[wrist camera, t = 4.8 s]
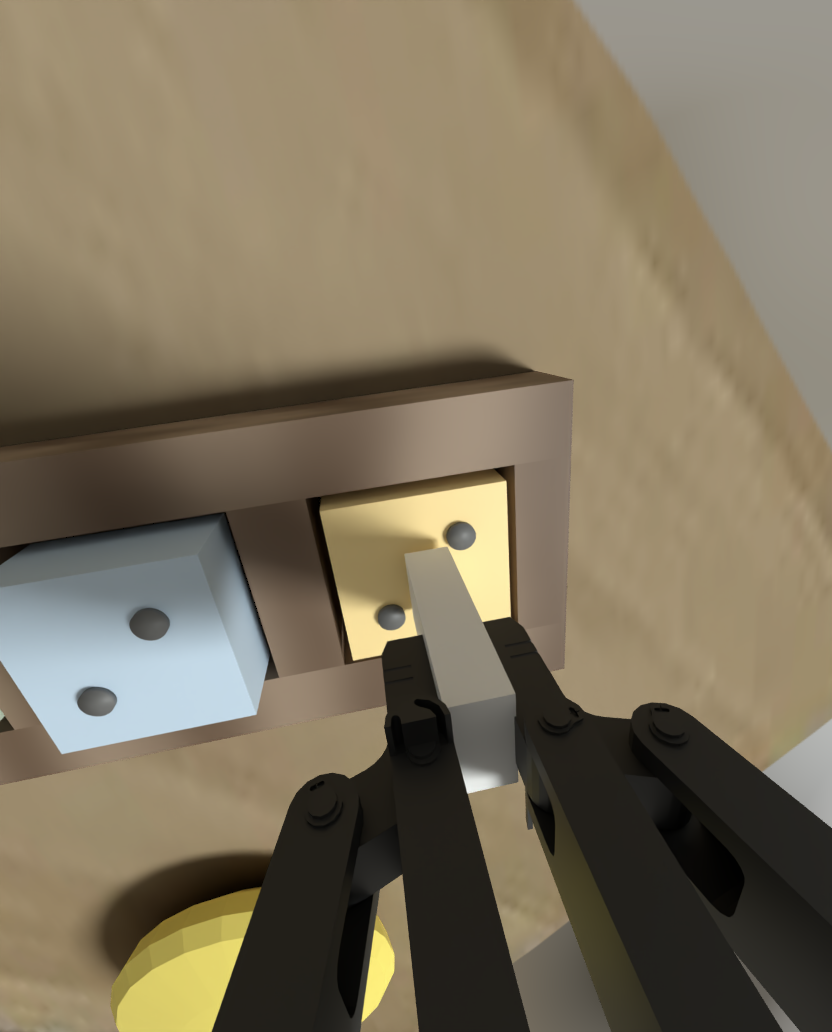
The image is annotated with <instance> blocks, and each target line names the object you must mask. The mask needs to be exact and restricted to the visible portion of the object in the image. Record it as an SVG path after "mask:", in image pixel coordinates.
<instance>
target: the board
mask: <svg viewBox="0 0 832 1032" xmlns="http://www.w3.org/2000/svg"><path fill="white" fill-rule="evenodd" d="M573 381H574V380H572V379H567V378H563V377H559V376H555V375H550V374H546V373H542V372H538V371H533V372H526V373H519V374H512V375H505V376H498V377H491V378H484V379H477V380H470V381H462V382H455V383H448V384H441V385H434V386H427V387H420V388H413V389H406V390H399V391H392V392H385V393H378V394H371V395H364V396H356V397H349V398H342V399H335V400H328V401H321V402H314V403H307V404H300V405H293V406H286V407H279V408H272V409H265V410H258V411H250V412H243V413H236V414H229V415H222V416H215V417H208V418H201V419H194V420H187V421H180V422H173V423H166V424H159V425H152V426H144V427H137V428H130V429H123V430H116V431H109V432H102V433H95V434H88V435H81V436H74V437H67V438H60V439H53V440H46V441H38V442H31V443H24V444H17V445H10V446H3V447H0V565H1V564H3V563H4V562H5V561H7V560H8V559H10V558H11V557H13V556H14V555H16V554H17V553H18V552H20V551H21V550H23V549H24V548H26V547H27V546H29V545H30V544H33V543H40V542H46V541H52V540H58V539H63V537H70V536H76V535H82V534H88V533H94V532H101V531H107V530H113V529H119V528H126V527H132V526H138V525H144V524H150V523H157V522H163V521H169V520H175V519H181V518H188V517H194V516H200V515H206V514H213V513H219V512H225V511H226V514H227V517H228V520H229V523H230V527H231V530H232V533H233V536H234V539H235V542H236V545H237V548H238V551H239V554H240V558H241V561H242V564H243V567H244V570H245V573H246V576H247V579H248V582H249V585H250V589H251V592H252V595H253V598H254V601H255V604H256V607H257V610H258V613H259V616H260V620H261V623H262V626H263V629H264V632H265V633H263V634H264V637H265V640H266V643H267V646H268V649H269V652H270V657H269V661H268V666H267V670H266V675H265V679H264V683H263V688H262V692H261V697H260V701H259V706H258V710H257V714H256V715H252V716H248V717H243V718H238V719H233V720H228V721H223V722H218V723H213V724H208V725H203V726H198V727H193V728H188V729H183V730H179V731H174V732H169V733H164V734H159V735H154V736H149V737H144V738H139V739H134V740H129V741H124V742H119V743H114V744H110V745H105V746H100V747H95V748H90V749H85V750H80V751H75V752H70V753H65V754H61V752H60V751H59V749H58V748H57V746H56V745H55V743H54V741H53V740H52V738H51V737H50V735H49V734H48V732H47V731H46V729H45V728H44V726H43V725H42V723H41V722H40V720H39V719H38V717H37V716H36V714H35V713H34V711H33V709H32V708H31V706H30V705H29V703H28V702H27V700H26V699H25V697H24V696H23V694H22V693H21V691H20V690H19V688H18V687H17V685H16V684H15V682H14V681H13V679H12V677H11V676H10V674H9V673H8V671H7V670H6V668H5V667H4V665H3V664H2V662H1V661H0V710H1V711H2V712H3V714H4V715H5V716H4V717H3V718H2V720H1V721H0V785H3V784H8V783H12V782H17V781H22V780H27V779H32V778H37V777H41V776H46V775H51V774H56V773H61V772H66V771H71V770H75V769H80V768H85V767H90V766H95V765H100V764H104V763H109V762H114V761H119V760H124V759H129V758H133V757H138V756H143V755H148V754H153V753H158V752H163V751H167V750H172V749H177V748H182V747H187V746H192V745H196V744H201V743H206V742H211V741H216V740H221V739H226V738H230V737H235V736H240V735H245V734H250V733H255V732H259V731H264V730H269V729H274V728H279V727H284V726H289V725H293V724H298V723H303V722H308V721H313V720H318V719H322V718H327V717H332V716H337V715H342V714H347V713H352V712H356V711H361V710H366V709H371V708H376V707H381V706H385V705H386V696H385V685H384V677H383V667H382V658H381V655H379V656H374V657H369V658H364V659H359V660H354V661H353V657H352V653H351V649H350V644H349V640H348V635H347V631H346V626H345V622H344V618H343V613H342V609H341V604H340V600H339V595H338V591H337V587H336V582H335V578H334V573H333V569H332V564H331V560H330V556H329V551H328V547H327V542H326V538H325V533H324V529H323V525H322V520H321V516H320V507H319V502H318V498H317V497H318V496H324V495H331V494H337V493H343V492H349V491H356V490H362V489H368V488H374V487H380V486H387V485H393V484H399V483H405V482H412V481H418V480H424V479H430V478H436V477H443V476H449V475H455V474H461V473H467V472H474V471H480V470H486V469H492V468H493V469H494V470H496V471H497V472H498V473H499V474H500V475H501V476H502V477H503V478H504V479H505V480H506V483H507V515H508V546H509V578H510V609H511V618H512V619H513V620H515V621H516V622H517V623H519V624H520V625H522V626H523V627H524V629H525V630H526V632H527V634H528V635H529V637H530V639H531V642H532V643H533V644H534V646H535V647H536V649H537V651H538V654H540V656H541V657H542V659H543V661H544V663H545V664H546V666H547V668H548V669H549V671H555V670H560V669H564V661H565V630H566V599H567V567H568V536H569V505H570V474H571V443H572V412H573Z"/></svg>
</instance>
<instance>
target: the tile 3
mask: <svg viewBox="0 0 832 1032" xmlns="http://www.w3.org/2000/svg"><path fill="white" fill-rule="evenodd" d="M320 516H321V520H322V525H323V529H324V533H325V538H326V542H327V547H328V551H329V556H330V560H331V564H332V569H333V573H334V578H335V582H336V587H337V591H338V595H339V600H340V604H341V609H342V613H343V618H344V622H345V626H346V631H347V635H348V640H349V644H350V649H351V653H352V657H353V661H354V660H359V659H364V658H369V657H374V656H379V655H382V652H383V650H384V648H385V645H386V643H387V641H391V640H397V639H402V638H407V637H412V636H417V632H416V627H415V623H414V618H413V611H412V604H411V597H410V590H409V583H408V577H407V570H406V563H405V556H404V554H406V553H412V552H418V551H424V550H429V549H435V548H441V547H447V546H448V549H449V551H450V553H451V555H452V557H453V559H454V562H455V564H456V566H457V568H458V570H459V572H460V574H461V577H462V579H463V581H464V583H465V585H466V587H467V590H468V592H469V594H470V596H471V598H472V600H473V603H474V605H475V607H476V609H477V611H478V613H479V616H480V618H481V620H482V622H485V621H490V620H495V619H501V618H506V617H511V609H510V578H509V546H508V515H507V483H506V480H505V479H504V478H503V477H502V476H501V475H500V474H499V473H498V472H497V471H496V470H494V469H493V468H492V469H486V470H480V471H474V472H467V473H461V474H455V475H449V476H443V477H436V478H430V479H424V480H418V481H412V482H405V483H399V484H393V485H387V486H380V487H374V488H368V489H362V490H356V491H349V492H343V493H337V494H331V495H324V496H322V497H321V504H320Z"/></svg>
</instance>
